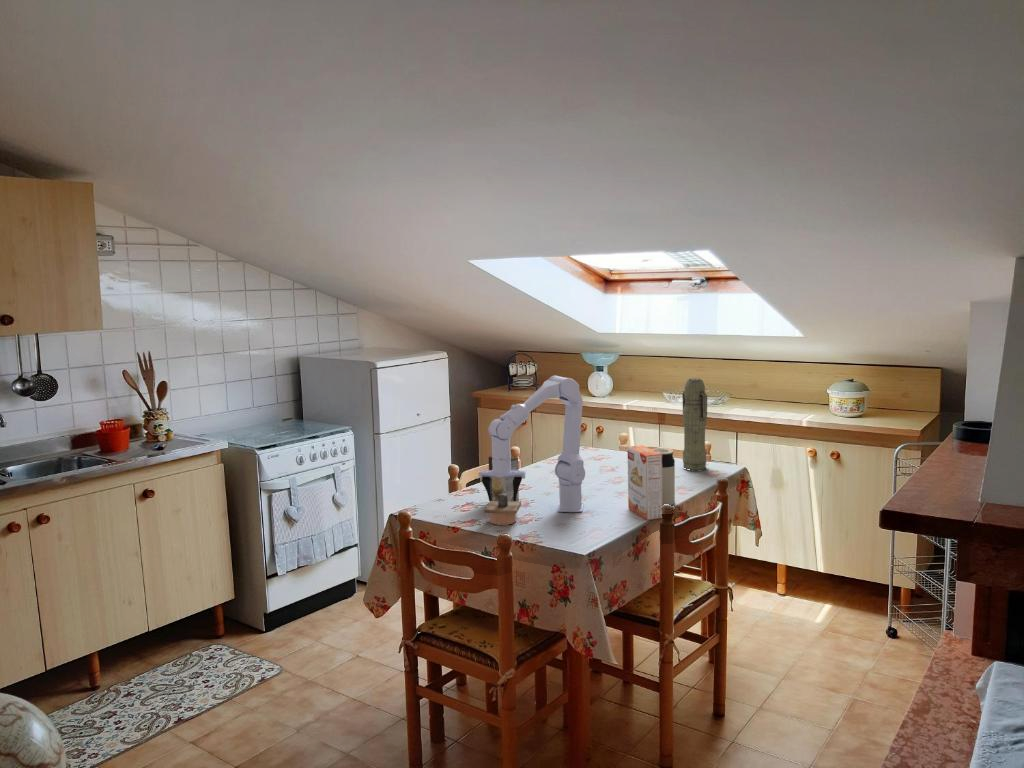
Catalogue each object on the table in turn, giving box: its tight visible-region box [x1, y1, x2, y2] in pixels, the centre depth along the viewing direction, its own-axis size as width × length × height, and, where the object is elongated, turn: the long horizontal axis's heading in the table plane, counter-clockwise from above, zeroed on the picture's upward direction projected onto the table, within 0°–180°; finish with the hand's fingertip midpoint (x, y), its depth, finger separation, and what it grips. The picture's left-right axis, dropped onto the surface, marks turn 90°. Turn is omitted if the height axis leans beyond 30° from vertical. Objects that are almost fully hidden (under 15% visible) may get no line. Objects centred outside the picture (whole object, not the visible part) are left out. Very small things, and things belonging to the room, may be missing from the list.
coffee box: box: [488, 455, 520, 501], centre depth 275 cm, size 9×6×16 cm
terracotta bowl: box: [489, 513, 518, 526], centre depth 255 cm, size 8×8×4 cm
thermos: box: [682, 378, 708, 471], centre depth 314 cm, size 9×12×35 cm
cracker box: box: [627, 445, 664, 521], centre depth 258 cm, size 14×6×21 cm, turn 16°
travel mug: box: [651, 447, 676, 506], centre depth 269 cm, size 8×8×18 cm
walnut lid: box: [483, 494, 522, 514], centre depth 254 cm, size 10×10×4 cm
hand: (502, 500), depth 254 cm, fingers open, 7 cm apart
